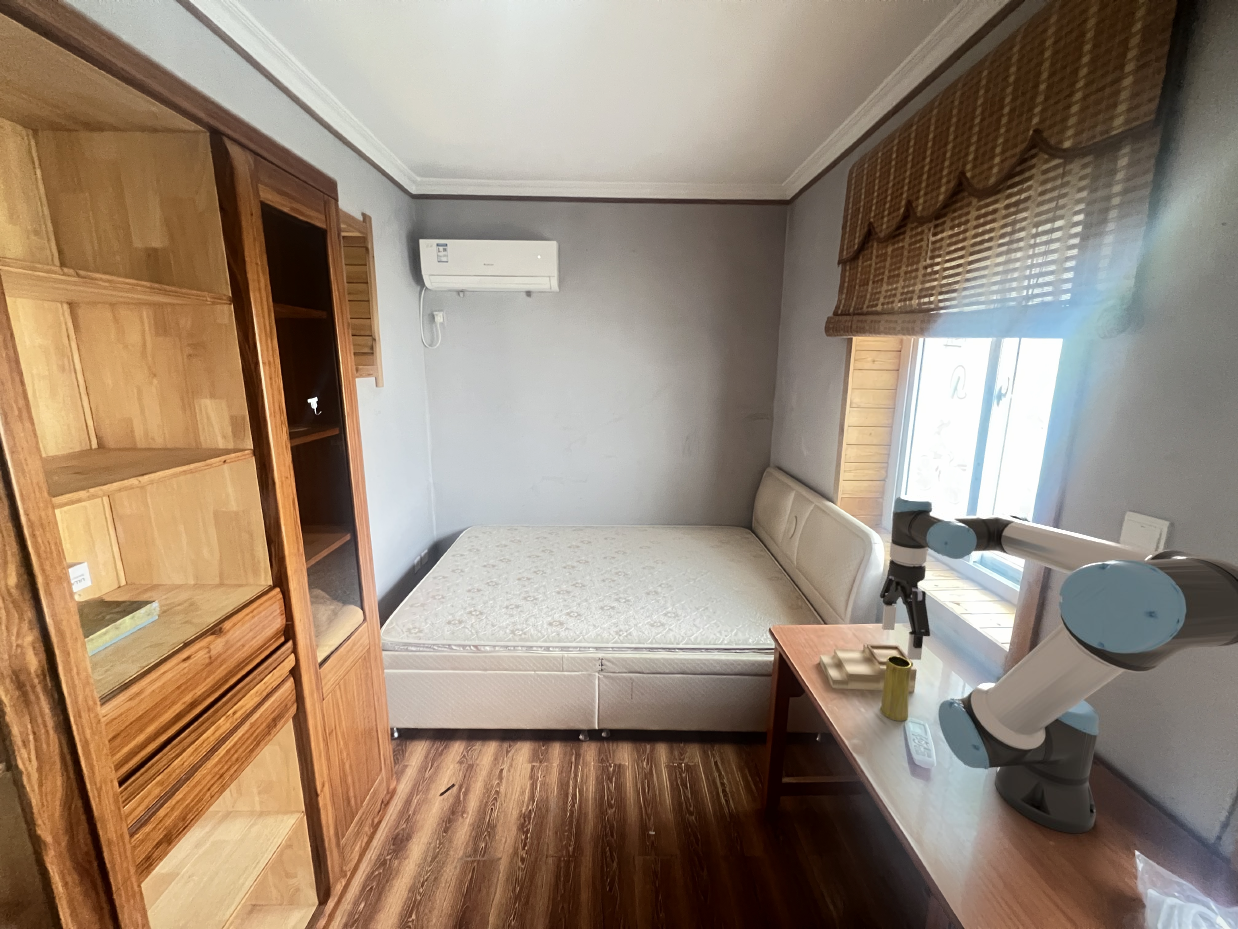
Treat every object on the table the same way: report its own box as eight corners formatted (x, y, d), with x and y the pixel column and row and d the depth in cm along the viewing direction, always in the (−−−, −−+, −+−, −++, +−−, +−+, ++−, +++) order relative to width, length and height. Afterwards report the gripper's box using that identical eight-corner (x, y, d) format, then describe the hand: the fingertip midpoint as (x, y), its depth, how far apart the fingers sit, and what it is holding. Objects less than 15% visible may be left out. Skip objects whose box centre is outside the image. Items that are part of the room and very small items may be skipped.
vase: (902, 725, 120) (907, 672, 117) (876, 712, 124) (880, 661, 122) (911, 713, 124) (917, 661, 121) (885, 701, 128) (890, 651, 126)
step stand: (914, 691, 132) (916, 666, 131) (832, 688, 134) (834, 663, 133) (894, 665, 144) (896, 642, 142) (819, 662, 146) (820, 639, 144)
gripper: (954, 582, 105) (944, 673, 109) (899, 543, 130) (893, 619, 133) (917, 582, 106) (908, 672, 109) (869, 543, 130) (864, 618, 134)
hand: (900, 643), depth 121 cm, fingers open, 13 cm apart
